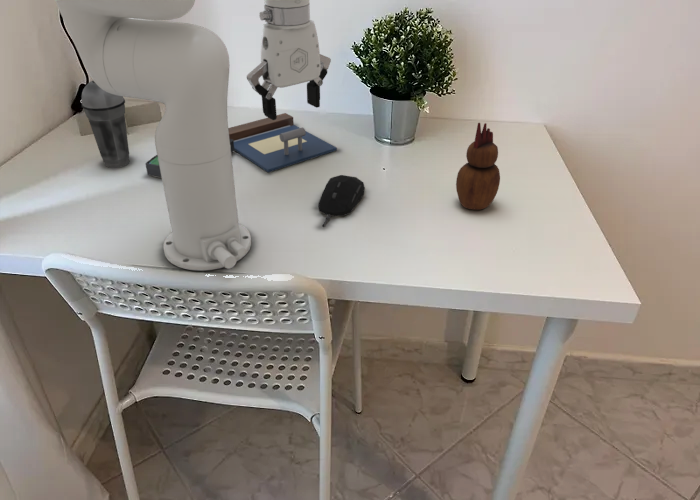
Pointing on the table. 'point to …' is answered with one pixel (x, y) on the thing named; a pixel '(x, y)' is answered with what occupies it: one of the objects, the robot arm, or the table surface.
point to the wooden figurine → (479, 172)
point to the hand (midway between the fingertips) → (292, 111)
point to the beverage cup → (107, 124)
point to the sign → (281, 147)
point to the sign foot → (259, 126)
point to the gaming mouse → (340, 196)
